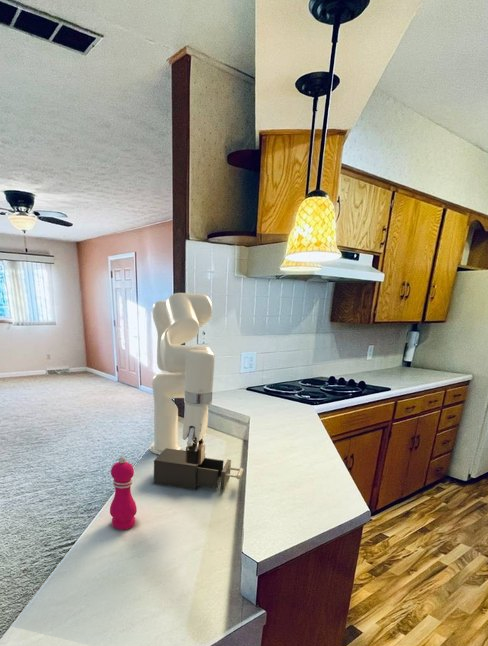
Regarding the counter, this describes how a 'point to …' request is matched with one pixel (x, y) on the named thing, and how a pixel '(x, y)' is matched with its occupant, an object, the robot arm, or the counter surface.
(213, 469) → the drawer
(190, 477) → the drawer cabinet
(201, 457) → the block
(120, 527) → the pepper mill
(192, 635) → the counter surface
